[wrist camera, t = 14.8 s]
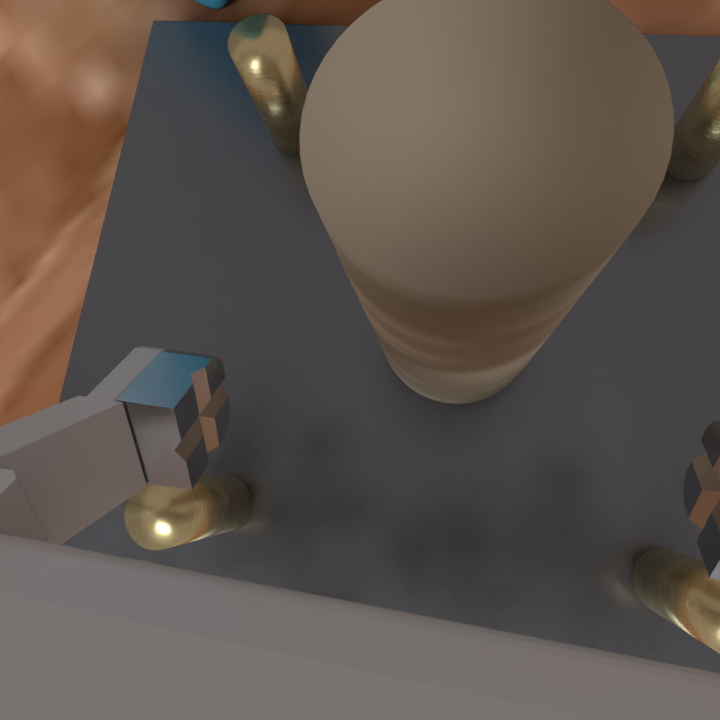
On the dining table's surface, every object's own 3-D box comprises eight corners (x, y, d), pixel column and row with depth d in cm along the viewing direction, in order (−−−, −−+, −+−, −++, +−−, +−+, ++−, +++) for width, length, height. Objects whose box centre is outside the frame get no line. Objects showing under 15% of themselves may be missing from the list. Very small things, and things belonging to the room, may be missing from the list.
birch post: (370, 393, 16) (270, 278, 7) (392, 251, 17) (330, -35, 8) (526, 414, 16) (661, 318, 6) (541, 265, 16) (684, -31, 7)
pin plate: (42, 596, 18) (-123, 647, 13) (172, 51, 22) (85, -88, 16) (885, 779, 14) (1152, 962, 9) (879, 77, 18) (1069, -94, 12)
